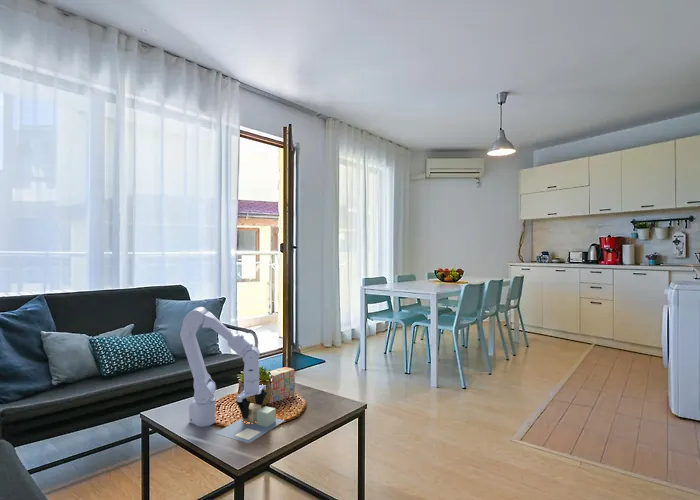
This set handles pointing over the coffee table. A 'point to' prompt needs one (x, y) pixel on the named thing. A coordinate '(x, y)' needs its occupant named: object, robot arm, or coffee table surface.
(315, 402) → the coffee table surface
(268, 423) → the sage block
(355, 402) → the coffee table surface
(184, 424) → the coffee table surface
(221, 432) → the board
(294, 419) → the coffee table surface
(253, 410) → the maple block
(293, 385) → the stack of blocks
